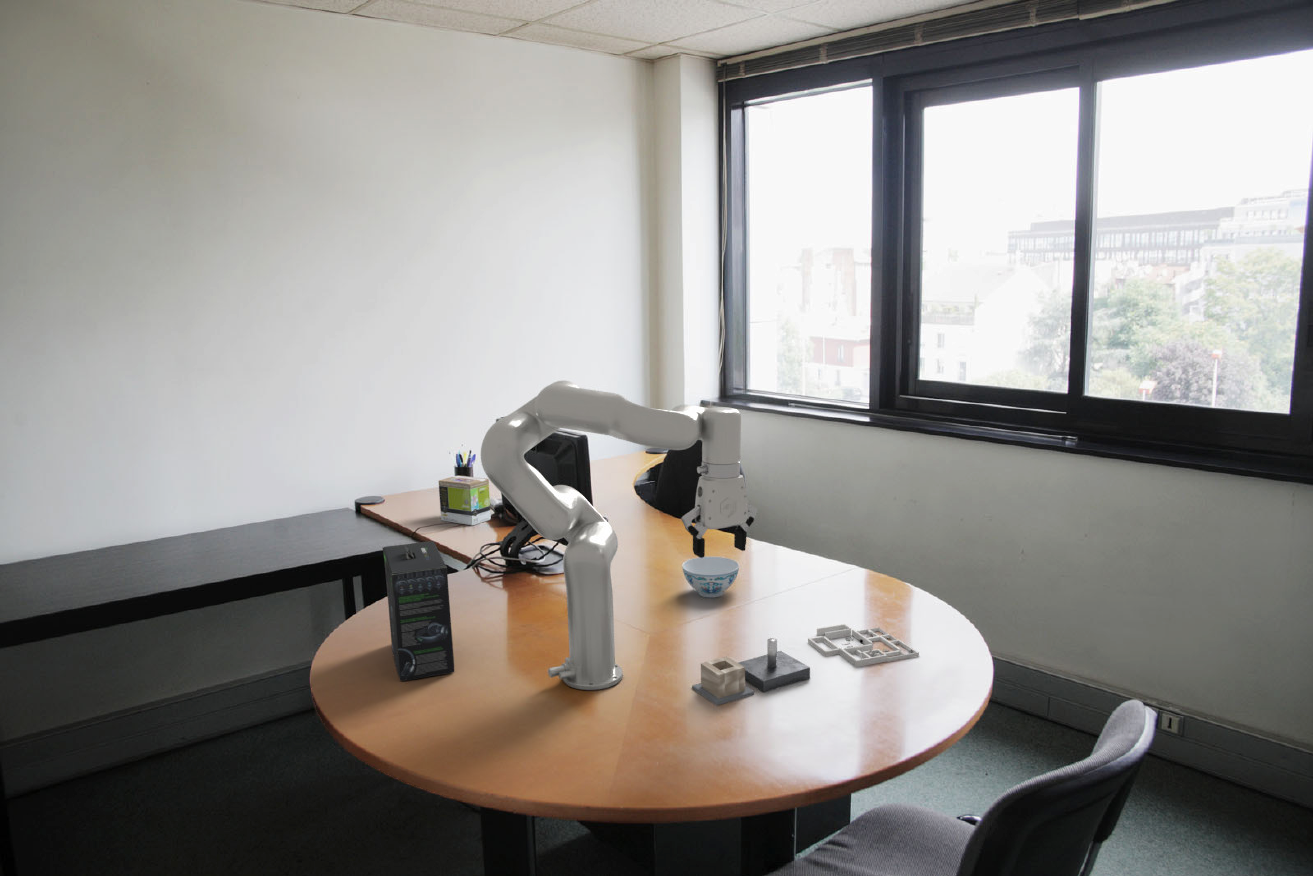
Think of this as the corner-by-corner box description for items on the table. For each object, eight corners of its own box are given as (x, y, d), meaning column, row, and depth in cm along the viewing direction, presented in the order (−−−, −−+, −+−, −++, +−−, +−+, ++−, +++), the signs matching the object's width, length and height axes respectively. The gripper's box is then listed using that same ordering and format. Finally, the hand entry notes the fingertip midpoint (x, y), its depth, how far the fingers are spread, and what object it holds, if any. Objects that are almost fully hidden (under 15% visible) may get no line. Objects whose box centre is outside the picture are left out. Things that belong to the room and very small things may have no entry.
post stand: (763, 692, 184) (763, 655, 183) (735, 674, 193) (734, 638, 191) (809, 678, 190) (810, 642, 189) (780, 661, 199) (780, 626, 197)
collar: (718, 698, 181) (718, 674, 180) (701, 686, 186) (700, 663, 185) (745, 690, 184) (744, 667, 183) (726, 678, 190) (726, 656, 189)
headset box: (389, 644, 213) (381, 537, 208) (442, 635, 217) (434, 531, 212) (398, 683, 192) (389, 566, 188) (456, 673, 196) (448, 558, 192)
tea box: (492, 519, 319) (489, 478, 316) (471, 526, 310) (469, 484, 308) (460, 514, 327) (457, 474, 324) (440, 521, 318) (437, 479, 316)
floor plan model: (777, 643, 210) (777, 634, 209) (872, 627, 217) (872, 619, 217) (817, 676, 192) (817, 667, 192) (918, 657, 200) (919, 649, 200)
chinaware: (747, 587, 245) (747, 559, 244) (727, 606, 232) (727, 577, 230) (695, 580, 251) (695, 553, 250) (673, 598, 238) (673, 570, 237)
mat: (716, 705, 179) (716, 702, 179) (692, 688, 187) (692, 685, 187) (753, 694, 184) (753, 691, 184) (728, 677, 191) (728, 675, 191)
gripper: (692, 478, 174) (692, 564, 177) (767, 469, 182) (765, 551, 185) (673, 470, 181) (673, 553, 184) (746, 462, 189) (745, 541, 192)
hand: (719, 552), depth 184 cm, fingers open, 9 cm apart
